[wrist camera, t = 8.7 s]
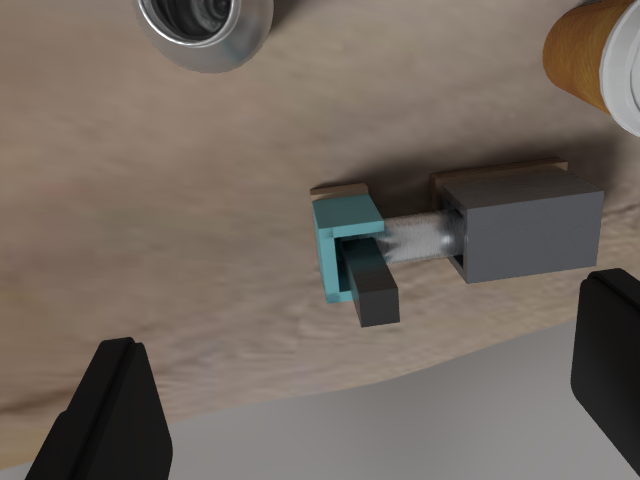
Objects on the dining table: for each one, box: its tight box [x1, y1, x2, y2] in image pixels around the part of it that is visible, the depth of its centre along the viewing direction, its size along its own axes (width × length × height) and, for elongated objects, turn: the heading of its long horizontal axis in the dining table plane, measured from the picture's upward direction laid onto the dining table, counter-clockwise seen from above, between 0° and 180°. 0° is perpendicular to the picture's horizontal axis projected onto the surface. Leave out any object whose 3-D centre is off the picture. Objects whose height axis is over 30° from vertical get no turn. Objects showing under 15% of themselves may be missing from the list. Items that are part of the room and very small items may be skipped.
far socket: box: [310, 183, 384, 304], centre depth 41 cm, size 5×7×8 cm, turn 6°
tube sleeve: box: [430, 157, 605, 284], centre depth 42 cm, size 11×7×8 cm, turn 96°
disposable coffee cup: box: [543, 0, 640, 137], centre depth 36 cm, size 10×10×12 cm
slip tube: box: [337, 209, 464, 327], centre depth 37 cm, size 12×4×11 cm, turn 96°
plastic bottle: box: [131, 0, 274, 73], centre depth 28 cm, size 6×7×20 cm
